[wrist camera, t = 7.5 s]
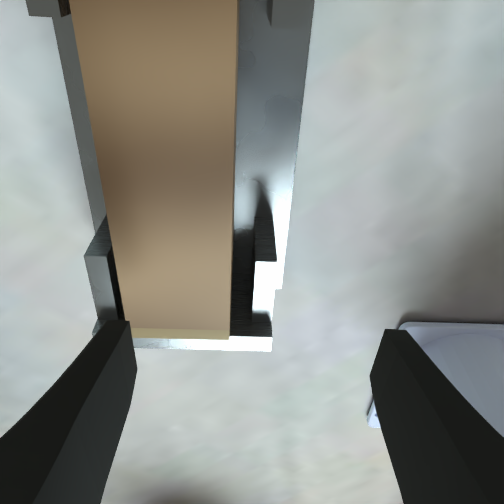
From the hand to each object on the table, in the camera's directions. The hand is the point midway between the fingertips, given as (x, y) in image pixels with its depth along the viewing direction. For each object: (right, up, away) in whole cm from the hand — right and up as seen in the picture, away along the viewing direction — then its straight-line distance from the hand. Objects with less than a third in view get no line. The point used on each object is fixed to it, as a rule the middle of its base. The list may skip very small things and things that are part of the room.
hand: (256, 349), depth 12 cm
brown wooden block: (-2, +7, +4) cm, 9 cm away
